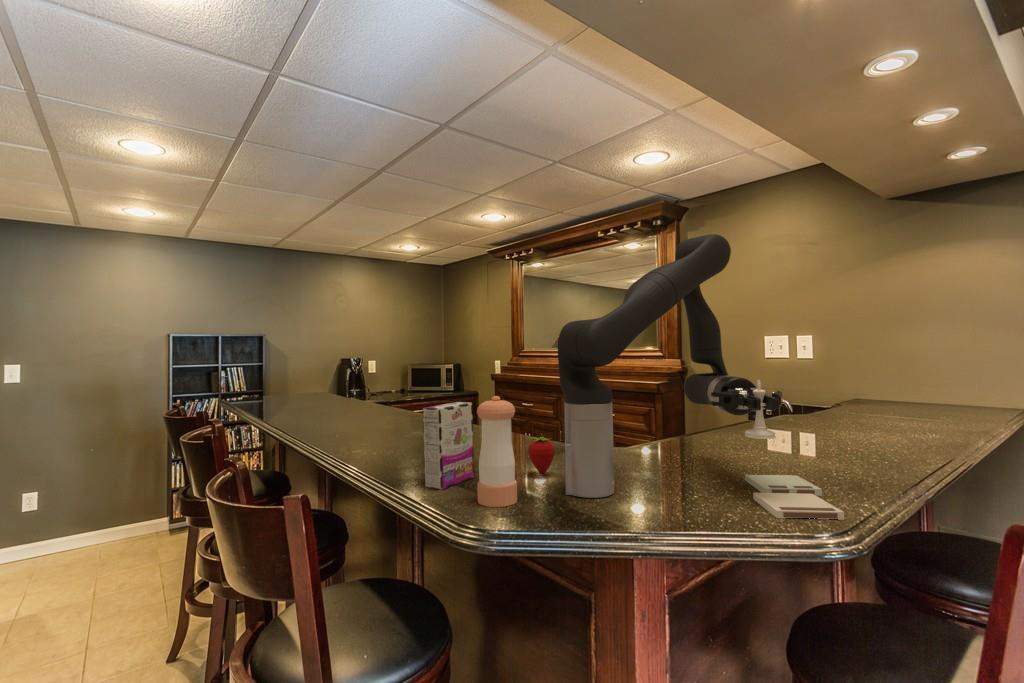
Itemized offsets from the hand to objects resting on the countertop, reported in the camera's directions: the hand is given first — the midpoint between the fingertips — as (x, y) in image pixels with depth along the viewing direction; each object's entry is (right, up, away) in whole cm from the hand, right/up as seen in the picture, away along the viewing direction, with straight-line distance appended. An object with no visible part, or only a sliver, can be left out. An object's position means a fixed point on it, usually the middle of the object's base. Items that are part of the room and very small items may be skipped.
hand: (766, 404), depth 83 cm
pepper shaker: (-46, -19, +6) cm, 50 cm away
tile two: (+9, -18, +12) cm, 23 cm away
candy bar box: (-57, -19, +20) cm, 63 cm away
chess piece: (0, -6, +3) cm, 7 cm away
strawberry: (-37, -19, +24) cm, 48 cm away
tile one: (+4, -18, -1) cm, 18 cm away
